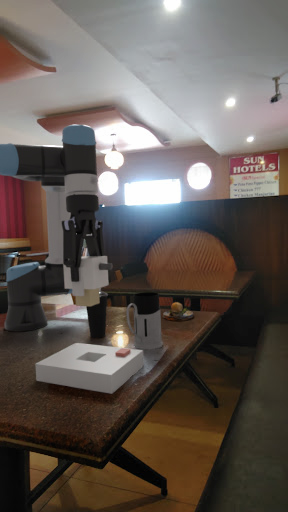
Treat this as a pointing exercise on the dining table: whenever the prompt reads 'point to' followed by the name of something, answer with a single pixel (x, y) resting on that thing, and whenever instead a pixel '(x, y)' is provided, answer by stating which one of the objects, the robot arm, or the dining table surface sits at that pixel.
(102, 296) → the drinking cup
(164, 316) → the burger
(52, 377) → the socket
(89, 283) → the plug
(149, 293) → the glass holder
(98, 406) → the dining table surface
